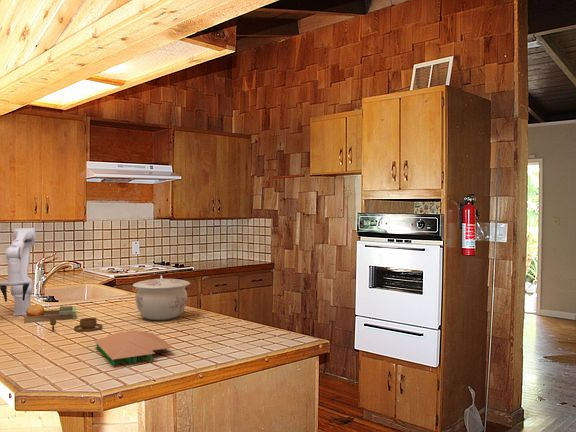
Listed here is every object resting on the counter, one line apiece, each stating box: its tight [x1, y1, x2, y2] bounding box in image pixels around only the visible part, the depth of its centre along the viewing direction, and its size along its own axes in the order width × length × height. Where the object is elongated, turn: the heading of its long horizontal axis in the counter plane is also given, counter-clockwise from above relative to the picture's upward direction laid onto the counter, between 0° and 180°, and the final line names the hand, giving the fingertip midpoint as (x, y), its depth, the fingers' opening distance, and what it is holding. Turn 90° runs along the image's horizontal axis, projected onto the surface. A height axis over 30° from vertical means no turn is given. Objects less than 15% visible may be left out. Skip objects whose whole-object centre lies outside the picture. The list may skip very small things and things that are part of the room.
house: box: [93, 329, 174, 367], centre depth 205 cm, size 23×33×8 cm
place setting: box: [49, 317, 104, 333], centre depth 244 cm, size 18×20×6 cm
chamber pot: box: [132, 275, 191, 322], centre depth 267 cm, size 28×28×21 cm
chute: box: [23, 305, 77, 324], centre depth 267 cm, size 14×23×4 cm, turn 112°
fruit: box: [26, 303, 46, 317], centre depth 265 cm, size 8×8×8 cm
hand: (14, 300), depth 261 cm, fingers open, 7 cm apart
